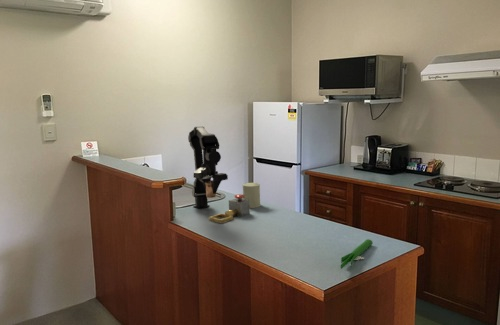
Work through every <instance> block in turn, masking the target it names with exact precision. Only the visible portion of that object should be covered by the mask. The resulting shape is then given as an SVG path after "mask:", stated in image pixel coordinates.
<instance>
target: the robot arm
mask: <svg viewBox="0 0 500 325" xmlns="http://www.w3.org/2000/svg"><path fill="white" fill-rule="evenodd" d="M187 136H188V138H187V139H188V142H189V145H190V148H191V149H192V150H193V158H194V159H193V160H194V168H195V170H194V171H193V178H194V181H193V185H192V191H191V195H192V197H193V198H194V203H195V205H193V206H192V207H193V208H196V209H201V210H202V209H204V208H210V207H211V206H210V204H208V203H209V202H208V201H209V200H208V198H207V197H206V184H205V182H208V181H210V182H211V183H212V188H213V194H216V195H217V191H218V189H219V187H220V185H221V183H222V181H227V180H228V178H229V177H228V174H227V173H223V172H221V173H219V171H218V170H217V166H218V164H219V162H220V161H221V158H222V156H221V153H220V152H219V151H218V150H219V149H220V142H219V139H218V138H217V136H216V134H214V133H209V132H208V131H207V130H206V128H205V126H194V128H193V129H192V130H191V131H190V132H189V133H188V135H187Z"/></svg>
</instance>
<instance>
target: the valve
mask: <svg viewBox="0 0 500 325" xmlns="http://www.w3.org/2000/svg"><path fill="white" fill-rule="evenodd" d="M244 197H245V195H243V193H242V194H235V195H234V198H233V199H229V200H228V210H227V211H225V212H224V214H227V215H231V216H233V217H235V216H237V217H239V218H240V217H243V216H247V215H249V214H250V213H251V212H250V208H249V200H248V199H243V198H244Z"/></svg>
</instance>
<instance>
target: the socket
mask: <svg viewBox="0 0 500 325" xmlns="http://www.w3.org/2000/svg"><path fill="white" fill-rule="evenodd" d="M232 220H234V216H231V215H227V214H225V213H218V214H215V215H212V216H211V215H210V216H208V221H210V222H215V223H218V224H223V223H226V222H230V221H232Z"/></svg>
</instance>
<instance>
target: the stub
mask: <svg viewBox="0 0 500 325" xmlns="http://www.w3.org/2000/svg"><path fill="white" fill-rule="evenodd" d="M205 184H206V197H207V199H208V198H210V199H211V198H213V199H214V198H216V197H217V193H216V194H213V188H212V183H211V182H210V181H208V182H205Z"/></svg>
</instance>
